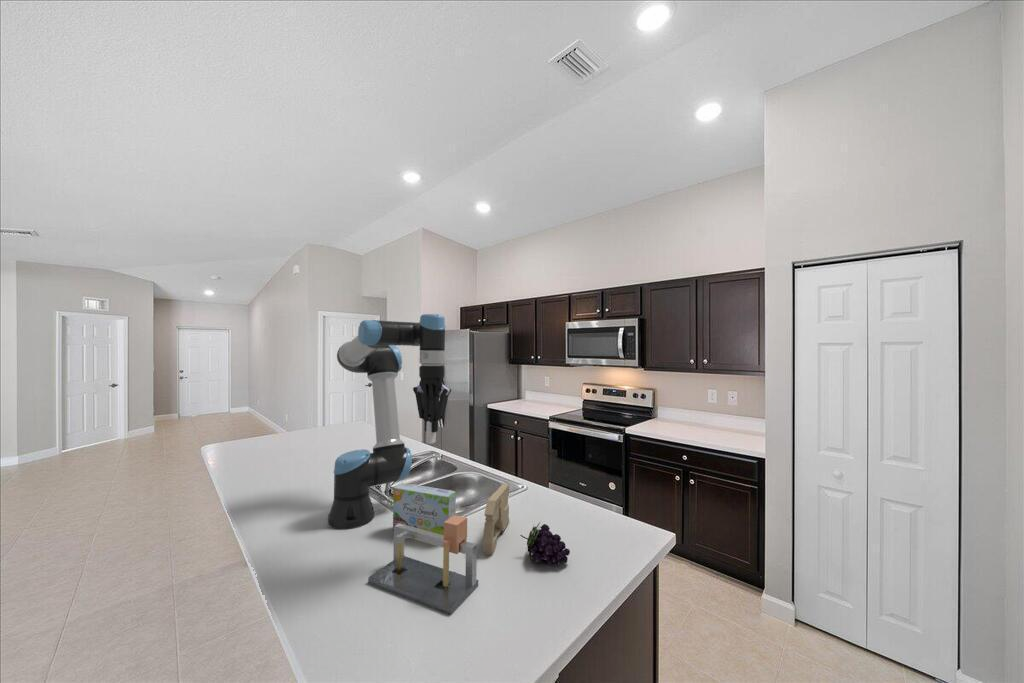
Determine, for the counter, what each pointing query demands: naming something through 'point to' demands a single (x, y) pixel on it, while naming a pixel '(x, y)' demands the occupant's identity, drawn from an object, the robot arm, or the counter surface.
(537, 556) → the fruit
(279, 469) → the counter surface
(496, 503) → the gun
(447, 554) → the block
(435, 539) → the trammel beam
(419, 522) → the snack box
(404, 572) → the bolt plate
